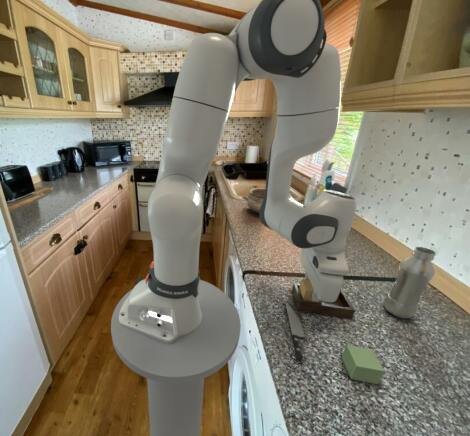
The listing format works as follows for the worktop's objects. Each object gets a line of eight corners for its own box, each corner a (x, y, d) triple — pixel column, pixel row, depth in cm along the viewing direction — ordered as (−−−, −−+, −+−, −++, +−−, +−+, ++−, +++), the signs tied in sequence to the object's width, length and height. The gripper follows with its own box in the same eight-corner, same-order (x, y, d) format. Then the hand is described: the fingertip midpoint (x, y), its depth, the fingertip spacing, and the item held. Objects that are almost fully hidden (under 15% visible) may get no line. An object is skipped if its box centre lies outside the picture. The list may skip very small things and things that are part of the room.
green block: (350, 379, 50) (356, 366, 49) (341, 357, 55) (346, 344, 53) (378, 384, 49) (384, 371, 48) (366, 362, 54) (371, 349, 52)
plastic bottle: (415, 325, 63) (449, 260, 56) (383, 315, 66) (411, 252, 59) (409, 309, 69) (439, 248, 61) (379, 301, 72) (404, 241, 64)
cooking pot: (283, 209, 142) (287, 189, 137) (289, 221, 125) (294, 199, 120) (240, 205, 147) (242, 185, 142) (240, 217, 130) (242, 195, 125)
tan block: (302, 301, 68) (305, 290, 67) (298, 289, 73) (301, 279, 71) (321, 304, 68) (325, 292, 66) (316, 292, 72) (319, 281, 70)
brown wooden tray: (298, 310, 68) (300, 302, 67) (291, 290, 76) (293, 282, 74) (352, 318, 65) (355, 310, 64) (339, 297, 73) (342, 289, 72)
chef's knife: (295, 304, 70) (284, 302, 71) (296, 301, 70) (285, 299, 70) (311, 365, 53) (296, 361, 54) (313, 361, 52) (298, 357, 53)
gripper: (300, 232, 74) (291, 269, 80) (322, 270, 56) (308, 316, 61) (322, 234, 73) (312, 272, 78) (352, 274, 55) (335, 320, 60)
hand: (310, 292), depth 70 cm, fingers closed on tan block, 5 cm apart
